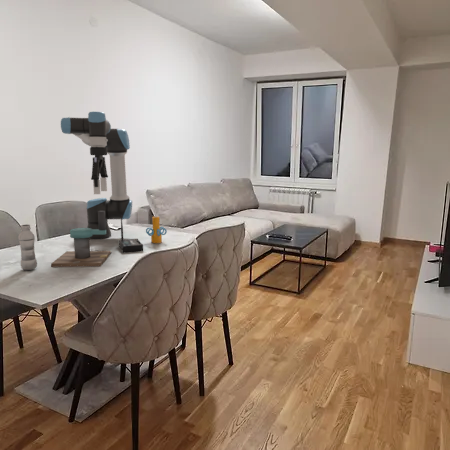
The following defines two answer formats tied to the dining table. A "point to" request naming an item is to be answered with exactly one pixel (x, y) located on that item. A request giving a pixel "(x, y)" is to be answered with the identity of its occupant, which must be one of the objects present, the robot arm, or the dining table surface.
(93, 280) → the dining table surface
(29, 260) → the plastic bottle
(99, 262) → the base
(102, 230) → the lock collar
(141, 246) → the wireless controller
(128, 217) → the robot arm
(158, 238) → the cylinder
